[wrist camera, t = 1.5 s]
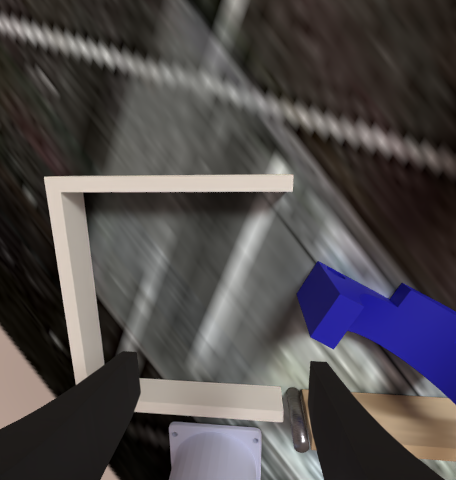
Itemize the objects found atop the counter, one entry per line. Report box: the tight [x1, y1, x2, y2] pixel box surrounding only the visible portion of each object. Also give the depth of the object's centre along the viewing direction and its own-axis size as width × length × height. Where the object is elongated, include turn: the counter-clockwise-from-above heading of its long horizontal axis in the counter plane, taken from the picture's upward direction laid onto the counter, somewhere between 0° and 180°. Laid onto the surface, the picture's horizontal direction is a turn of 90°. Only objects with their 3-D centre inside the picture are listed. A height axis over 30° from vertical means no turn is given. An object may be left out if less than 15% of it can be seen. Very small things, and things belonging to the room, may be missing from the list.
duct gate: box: [302, 389, 456, 461], centre depth 21 cm, size 16×1×4 cm, turn 91°
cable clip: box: [297, 261, 456, 405], centre depth 19 cm, size 12×4×6 cm, turn 63°
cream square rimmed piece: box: [44, 174, 309, 453], centre depth 20 cm, size 18×18×5 cm
